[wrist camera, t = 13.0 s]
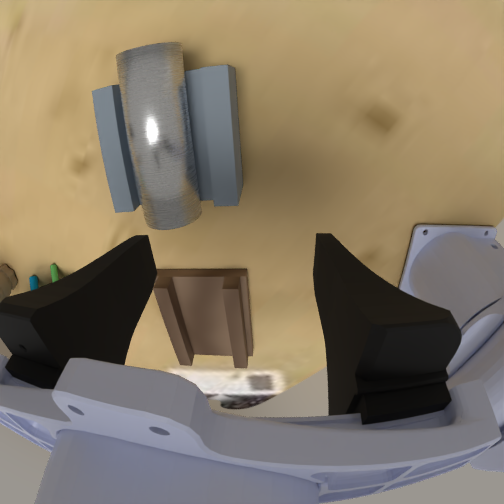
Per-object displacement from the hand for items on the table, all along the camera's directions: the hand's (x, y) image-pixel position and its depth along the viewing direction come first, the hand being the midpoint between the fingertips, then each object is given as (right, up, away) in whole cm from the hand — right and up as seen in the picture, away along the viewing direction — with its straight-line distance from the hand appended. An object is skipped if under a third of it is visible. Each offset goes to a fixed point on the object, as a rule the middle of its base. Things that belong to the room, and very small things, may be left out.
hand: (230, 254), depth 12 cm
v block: (-4, +8, +6) cm, 11 cm away
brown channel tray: (-3, -5, +14) cm, 16 cm away
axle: (-4, +6, +2) cm, 8 cm away
